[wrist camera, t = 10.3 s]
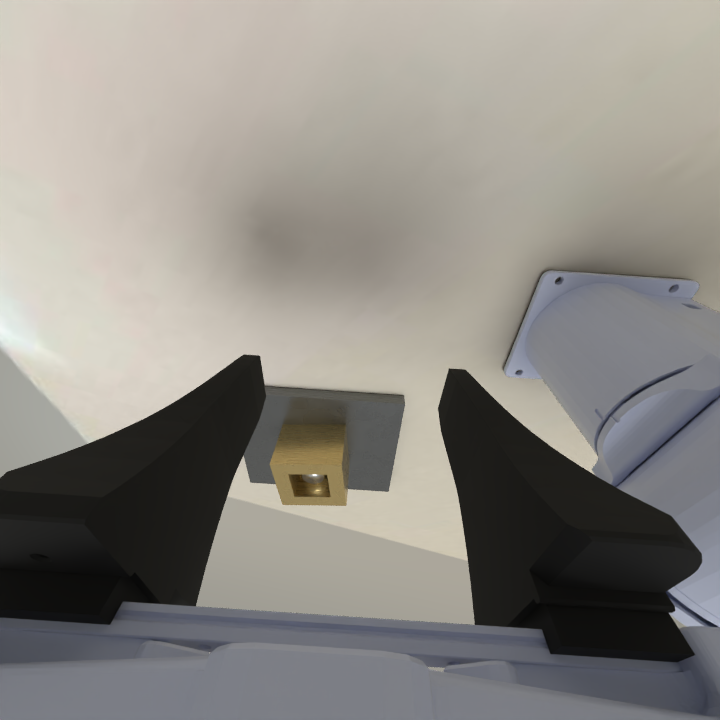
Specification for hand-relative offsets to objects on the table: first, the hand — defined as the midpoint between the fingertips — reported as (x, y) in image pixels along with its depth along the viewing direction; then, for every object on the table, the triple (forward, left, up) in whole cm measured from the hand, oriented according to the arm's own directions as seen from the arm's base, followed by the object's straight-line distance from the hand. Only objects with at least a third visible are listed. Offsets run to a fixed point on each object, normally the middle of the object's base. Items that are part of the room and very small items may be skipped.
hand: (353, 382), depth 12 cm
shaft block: (+3, +15, -10) cm, 18 cm away
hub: (+3, +15, -9) cm, 17 cm away
